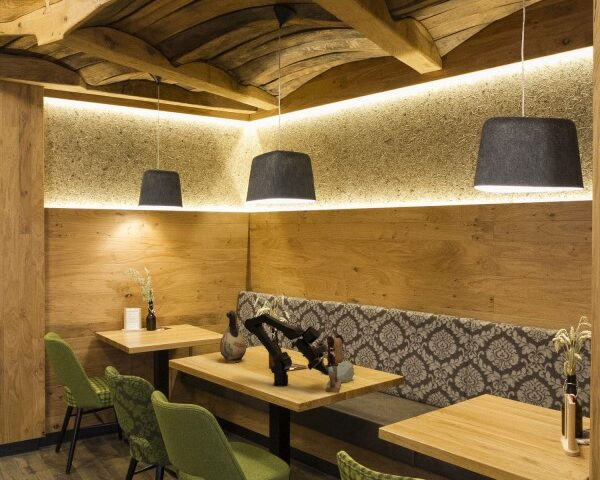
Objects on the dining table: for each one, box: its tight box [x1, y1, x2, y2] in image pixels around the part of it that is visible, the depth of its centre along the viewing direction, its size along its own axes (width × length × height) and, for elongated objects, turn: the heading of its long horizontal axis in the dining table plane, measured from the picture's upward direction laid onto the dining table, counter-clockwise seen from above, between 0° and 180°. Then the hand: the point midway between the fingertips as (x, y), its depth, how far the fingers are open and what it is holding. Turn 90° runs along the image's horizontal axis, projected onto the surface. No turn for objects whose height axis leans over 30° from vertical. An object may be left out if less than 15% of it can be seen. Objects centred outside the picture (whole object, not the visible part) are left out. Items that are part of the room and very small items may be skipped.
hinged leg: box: [327, 367, 333, 380], centre depth 292 cm, size 2×2×7 cm
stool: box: [325, 366, 342, 394], centre depth 291 cm, size 6×14×10 cm, turn 171°
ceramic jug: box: [219, 310, 247, 364], centre depth 355 cm, size 17×15×30 cm
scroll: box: [321, 334, 344, 374], centre depth 326 cm, size 15×15×20 cm
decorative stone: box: [337, 360, 355, 383], centre depth 308 cm, size 13×11×10 cm
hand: (328, 373), depth 292 cm, fingers closed, pressing on hinged leg
